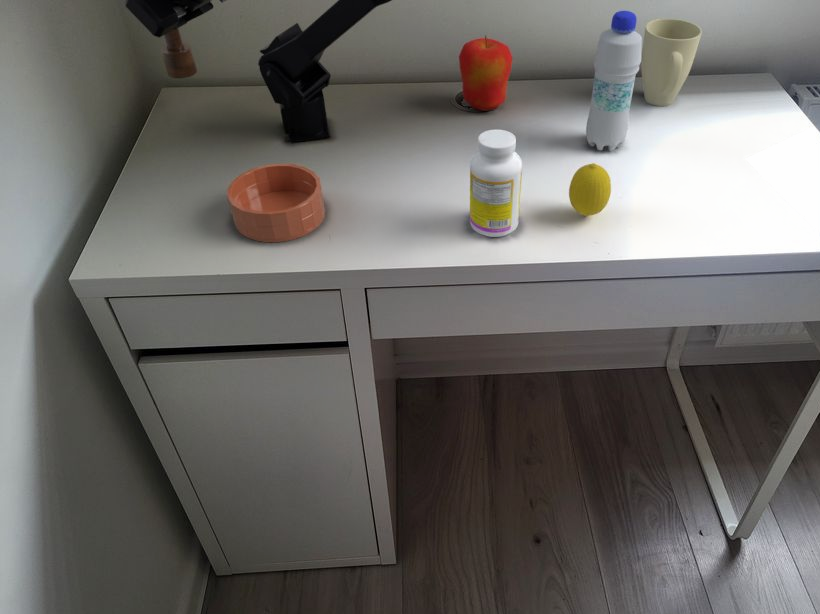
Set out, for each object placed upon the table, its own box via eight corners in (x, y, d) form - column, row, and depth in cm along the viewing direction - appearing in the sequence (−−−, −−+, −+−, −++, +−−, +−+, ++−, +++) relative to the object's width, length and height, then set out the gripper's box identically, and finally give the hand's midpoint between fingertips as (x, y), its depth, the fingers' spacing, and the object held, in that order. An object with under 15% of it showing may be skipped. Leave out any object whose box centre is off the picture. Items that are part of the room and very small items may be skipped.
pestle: (196, 64, 118) (173, -19, 109) (198, 76, 115) (175, -10, 106) (167, 68, 117) (141, -16, 108) (168, 80, 114) (142, -6, 105)
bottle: (630, 138, 113) (655, 7, 99) (618, 158, 109) (642, 24, 95) (590, 130, 115) (608, 0, 101) (577, 148, 111) (594, 15, 97)
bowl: (320, 186, 103) (315, 158, 100) (329, 235, 94) (325, 206, 91) (233, 197, 101) (226, 169, 97) (235, 248, 92) (227, 219, 89)
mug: (617, 98, 123) (629, 27, 115) (657, 83, 128) (671, 14, 119) (665, 123, 117) (681, 50, 109) (705, 106, 121) (723, 35, 113)
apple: (454, 114, 119) (453, 42, 110) (465, 92, 125) (465, 22, 116) (504, 120, 117) (507, 48, 109) (513, 97, 123) (517, 27, 115)
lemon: (562, 205, 100) (569, 154, 94) (601, 203, 100) (610, 152, 94) (570, 228, 96) (576, 176, 90) (610, 226, 96) (619, 174, 91)
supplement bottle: (490, 205, 100) (493, 119, 91) (528, 222, 97) (535, 136, 88) (459, 226, 96) (459, 139, 87) (498, 245, 93) (502, 157, 84)
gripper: (200, -104, 105) (161, -32, 115) (111, -71, 92) (77, 7, 103) (256, -39, 108) (214, 25, 119) (178, 1, 96) (139, 69, 106)
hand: (163, 29), depth 112 cm, fingers closed on pestle, 2 cm apart
